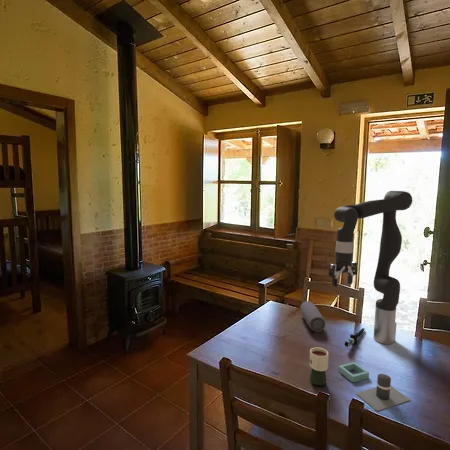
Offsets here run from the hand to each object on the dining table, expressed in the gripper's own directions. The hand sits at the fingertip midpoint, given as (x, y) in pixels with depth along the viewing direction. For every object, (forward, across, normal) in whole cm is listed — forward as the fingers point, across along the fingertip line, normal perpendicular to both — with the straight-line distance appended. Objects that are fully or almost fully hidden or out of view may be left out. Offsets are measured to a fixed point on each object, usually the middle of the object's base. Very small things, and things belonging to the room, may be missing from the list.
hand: (342, 285), depth 148 cm
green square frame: (+32, -8, -18) cm, 38 cm away
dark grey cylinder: (+32, -8, -33) cm, 46 cm away
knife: (+32, +14, +4) cm, 35 cm away
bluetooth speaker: (+32, +5, +28) cm, 43 cm away
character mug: (+32, -25, -17) cm, 44 cm away
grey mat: (+32, -8, -33) cm, 47 cm away
